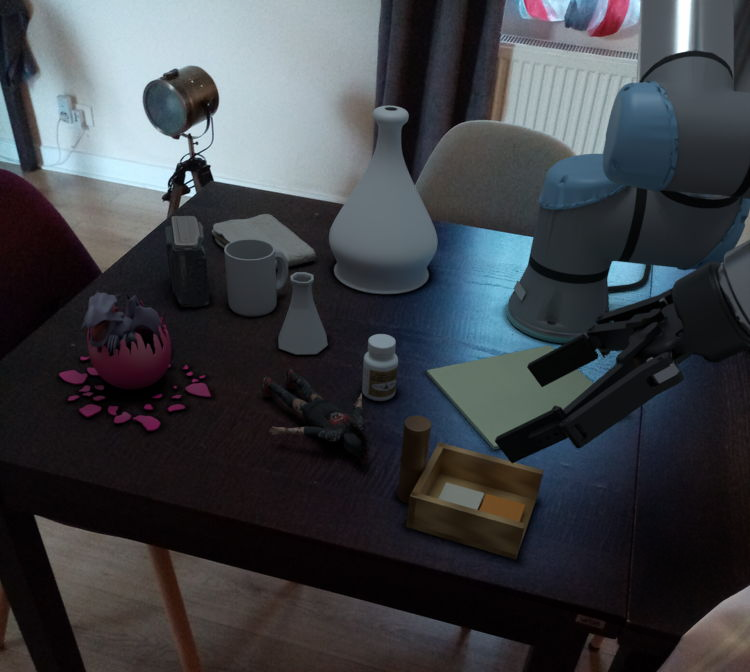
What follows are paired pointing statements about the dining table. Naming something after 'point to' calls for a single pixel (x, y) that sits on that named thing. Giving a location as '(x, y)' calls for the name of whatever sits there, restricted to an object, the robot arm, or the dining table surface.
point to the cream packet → (462, 496)
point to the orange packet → (503, 507)
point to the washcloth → (265, 237)
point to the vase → (384, 220)
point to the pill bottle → (380, 368)
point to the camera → (187, 261)
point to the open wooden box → (469, 471)
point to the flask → (302, 320)
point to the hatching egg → (126, 353)
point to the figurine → (320, 415)
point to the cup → (254, 276)
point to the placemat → (504, 391)
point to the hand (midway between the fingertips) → (520, 410)
